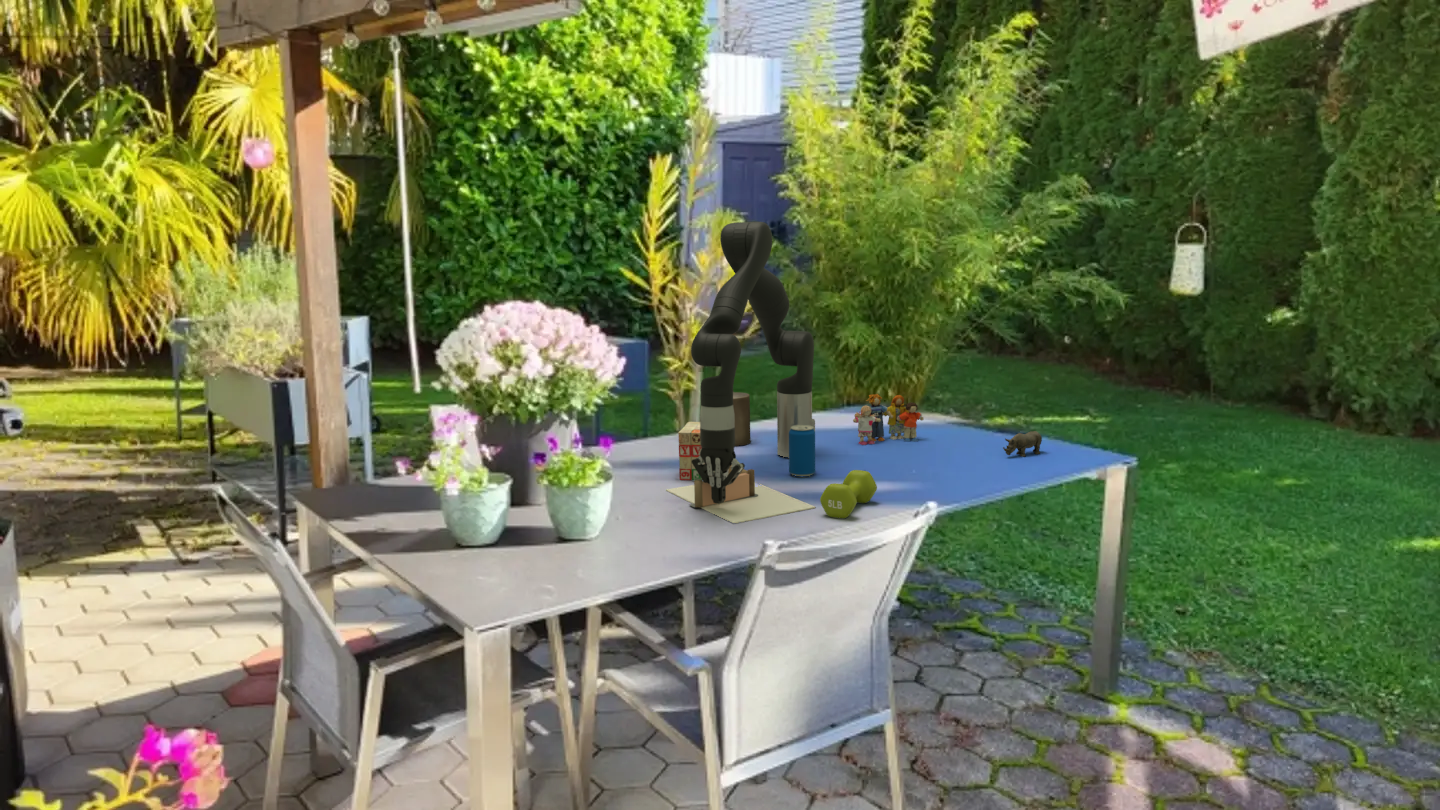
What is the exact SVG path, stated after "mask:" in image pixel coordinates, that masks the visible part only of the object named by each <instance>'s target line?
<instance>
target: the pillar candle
mask: <svg viewBox="0 0 1440 810" xmlns="http://www.w3.org/2000/svg"><path fill="white" fill-rule="evenodd" d="M750 399H751V398H750V394H749V393H747V392H735V391H733V408H734V416H735V446H734V447H738V446H739V445H740V446H747V445H749V444H751V443H752V440H751V403H750V401H751V400H750ZM740 446H739V447H740Z"/></svg>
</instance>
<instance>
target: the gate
mask: <svg viewBox="0 0 1440 810" xmlns="http://www.w3.org/2000/svg"><path fill="white" fill-rule="evenodd" d="M693 483H694V484H693V485H694V493H695V508H700V507H703V506H707V505H712V504H716V503H713V500H712V497H711V494H712V493H711V486H710V484H709V483H704V482H703V481H702V480H693ZM748 496H749V474H747V473H742V474H739V476H738V477H737V478H736V480H735V481H734V482H733V483H732V484H729V485H727V486H726V499H725V500H724V502H726V501H730V500H735V499H739V498H744V497H748Z"/></svg>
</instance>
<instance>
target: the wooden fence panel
mask: <svg viewBox="0 0 1440 810" xmlns="http://www.w3.org/2000/svg"><path fill="white" fill-rule="evenodd" d="M731 466H732V465H731ZM731 466H730V468H729V473H730V472H731ZM729 473H728V474H729ZM742 473H747V474H749V496H755V482H756V481H755V469H753V468H749V469H745V468H744V469H743V470H742V471H741V473H740V474H742ZM727 476H728V475H727Z"/></svg>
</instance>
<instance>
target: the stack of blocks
mask: <svg viewBox="0 0 1440 810" xmlns="http://www.w3.org/2000/svg"><path fill="white" fill-rule="evenodd" d="M677 433H678V459H679V460H678V463H679V465H678V466H679V468H678V471H679V481H695V480H702V478H701V477H700V475H699V474H698V472H697V470H696V469H695V467H694V466H693V464H692V460H693V459H696V458H697V457H699V456H700V451H701V449H702V447H701V445H700V421H688V422H686V424H685V425H684V426H683V428H681V429H680V431H678V432H677Z"/></svg>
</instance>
